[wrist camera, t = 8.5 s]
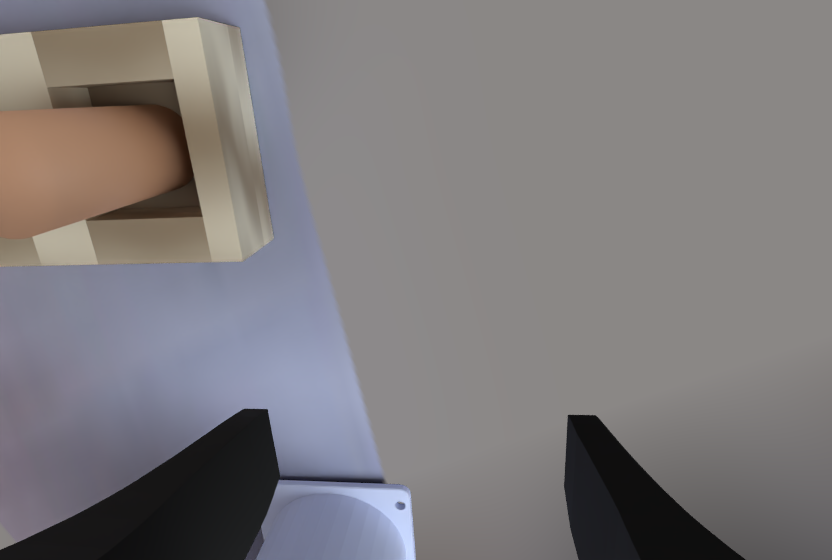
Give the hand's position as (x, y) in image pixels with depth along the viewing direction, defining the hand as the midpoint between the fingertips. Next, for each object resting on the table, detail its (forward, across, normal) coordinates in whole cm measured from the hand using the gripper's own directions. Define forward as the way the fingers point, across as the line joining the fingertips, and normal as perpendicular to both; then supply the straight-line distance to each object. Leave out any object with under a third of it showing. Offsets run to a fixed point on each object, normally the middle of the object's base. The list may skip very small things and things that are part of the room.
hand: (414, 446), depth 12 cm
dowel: (+9, +10, -6) cm, 15 cm away
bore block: (+10, +14, -6) cm, 18 cm away
